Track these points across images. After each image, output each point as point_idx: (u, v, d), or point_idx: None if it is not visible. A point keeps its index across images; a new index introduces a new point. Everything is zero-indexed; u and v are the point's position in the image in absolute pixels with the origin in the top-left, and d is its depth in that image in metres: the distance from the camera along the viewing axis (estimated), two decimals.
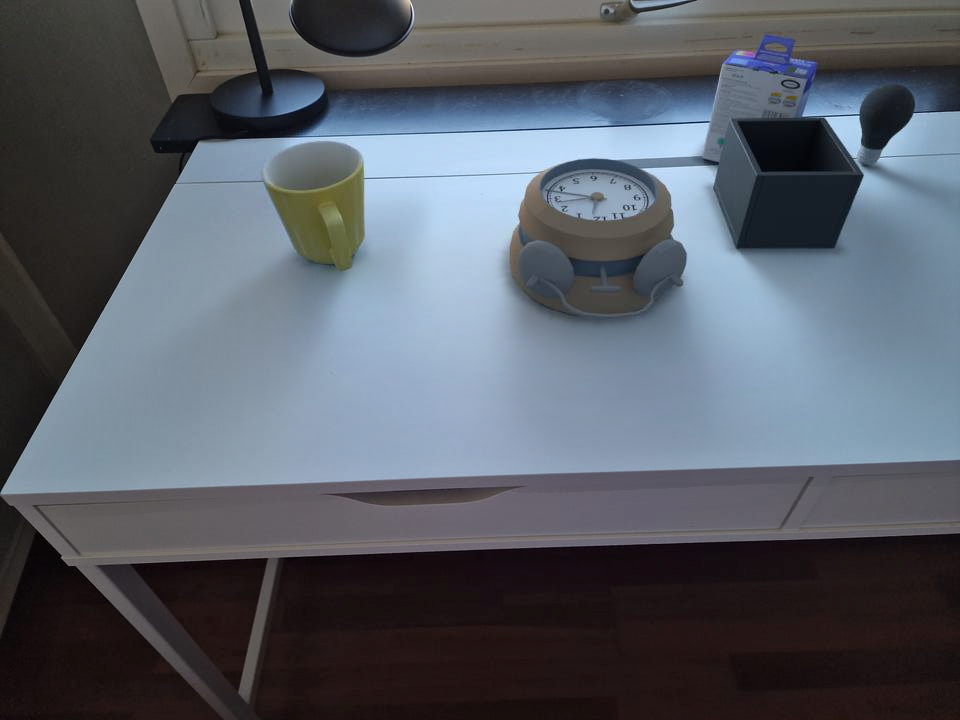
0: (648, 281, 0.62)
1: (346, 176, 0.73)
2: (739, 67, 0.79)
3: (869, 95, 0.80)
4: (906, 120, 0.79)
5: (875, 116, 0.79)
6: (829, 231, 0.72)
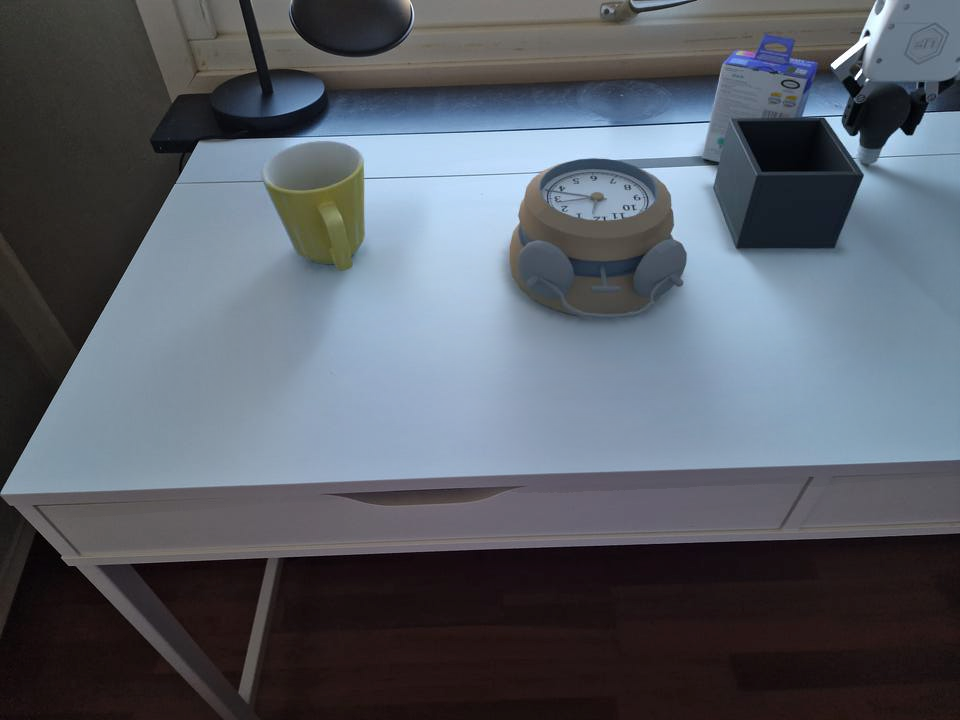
0: (648, 281, 0.62)
1: (346, 176, 0.73)
2: (739, 67, 0.79)
3: None
4: (903, 119, 0.79)
5: (870, 116, 0.80)
6: (829, 231, 0.72)
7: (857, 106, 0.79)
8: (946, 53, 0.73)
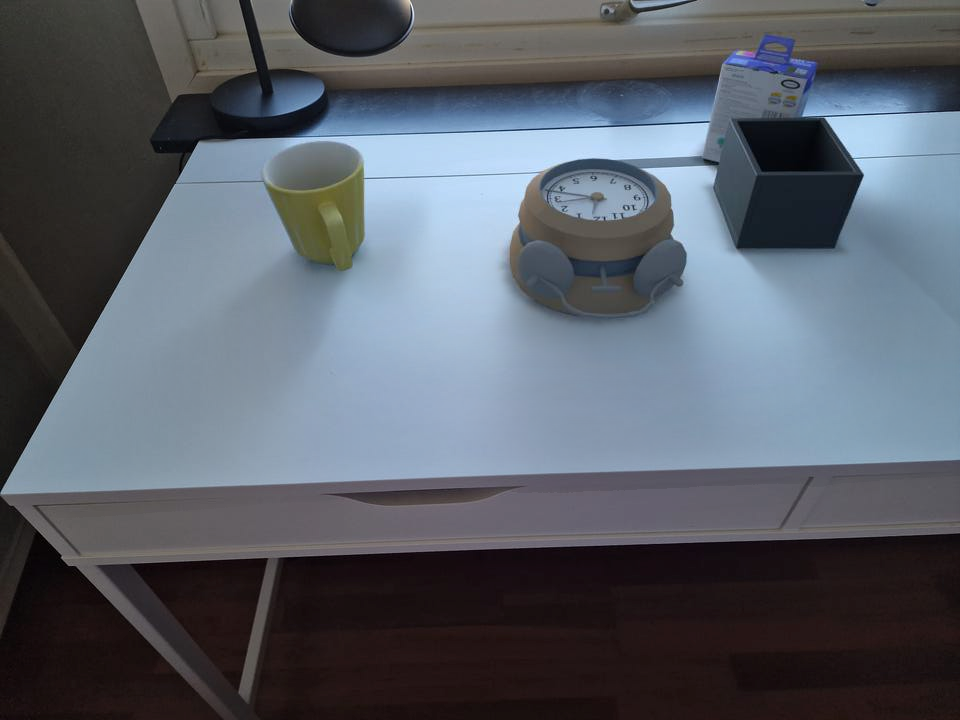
0: (648, 281, 0.62)
1: (346, 176, 0.73)
2: (739, 67, 0.79)
3: None
4: None
5: None
6: (829, 231, 0.72)
7: None
8: None
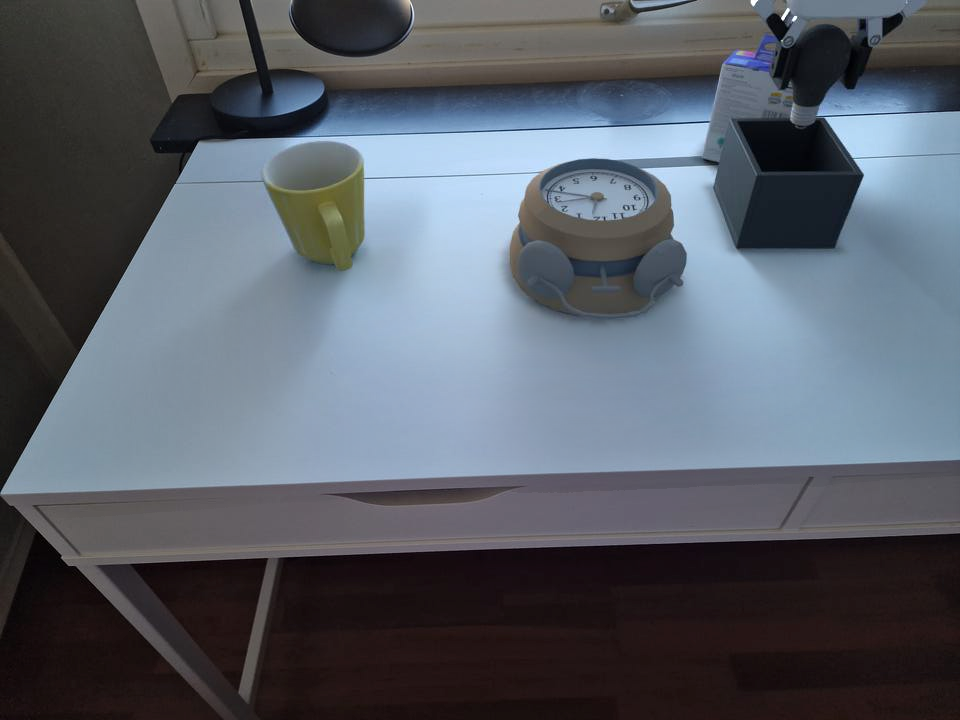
0: (648, 281, 0.62)
1: (346, 176, 0.73)
2: (739, 67, 0.79)
3: None
4: (841, 67, 0.65)
5: (802, 64, 0.65)
6: (829, 231, 0.72)
7: (785, 52, 0.65)
8: None
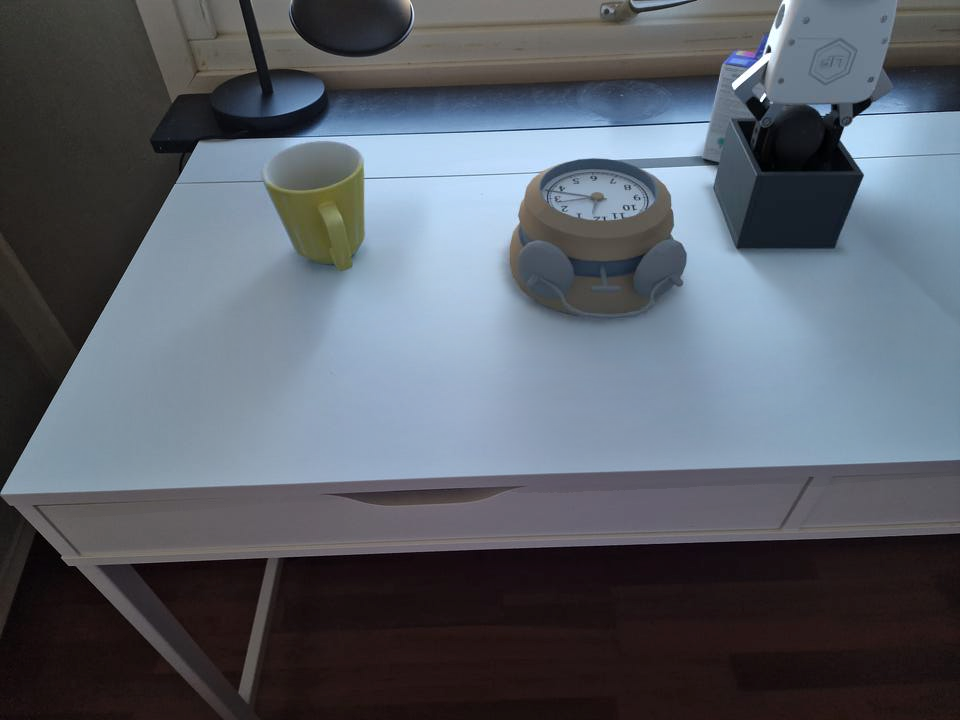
0: (648, 281, 0.62)
1: (346, 176, 0.73)
2: (739, 67, 0.79)
3: None
4: (815, 144, 0.70)
5: (779, 141, 0.71)
6: (829, 231, 0.72)
7: (764, 130, 0.70)
8: (856, 72, 0.64)
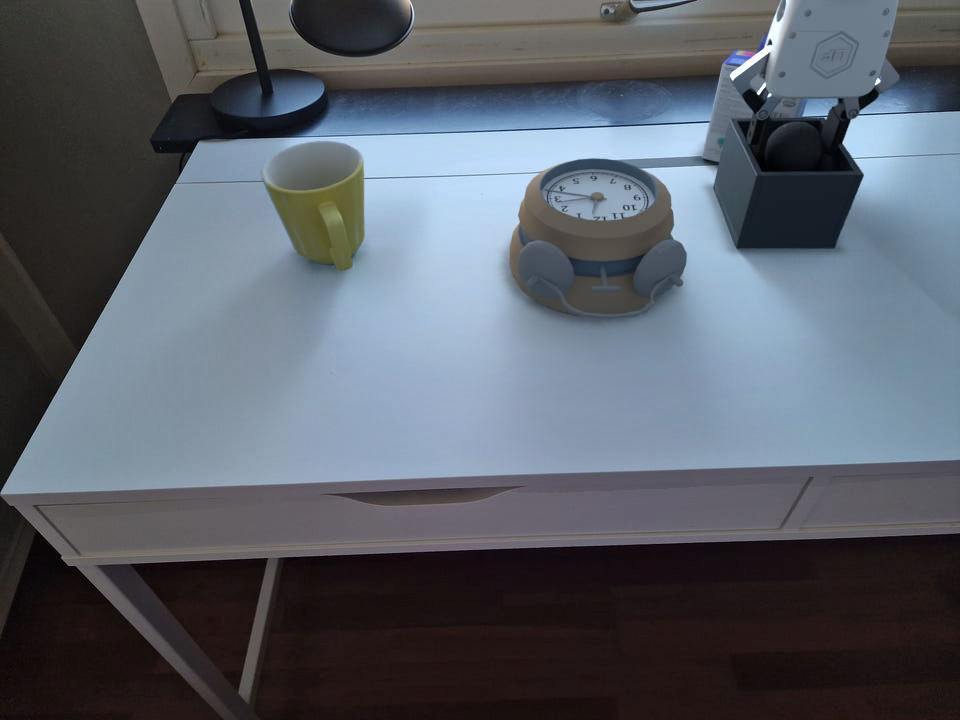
0: (648, 281, 0.62)
1: (346, 176, 0.73)
2: None
3: (773, 134, 0.73)
4: (812, 162, 0.71)
5: (778, 157, 0.72)
6: (829, 231, 0.72)
7: (761, 123, 0.70)
8: (858, 66, 0.64)
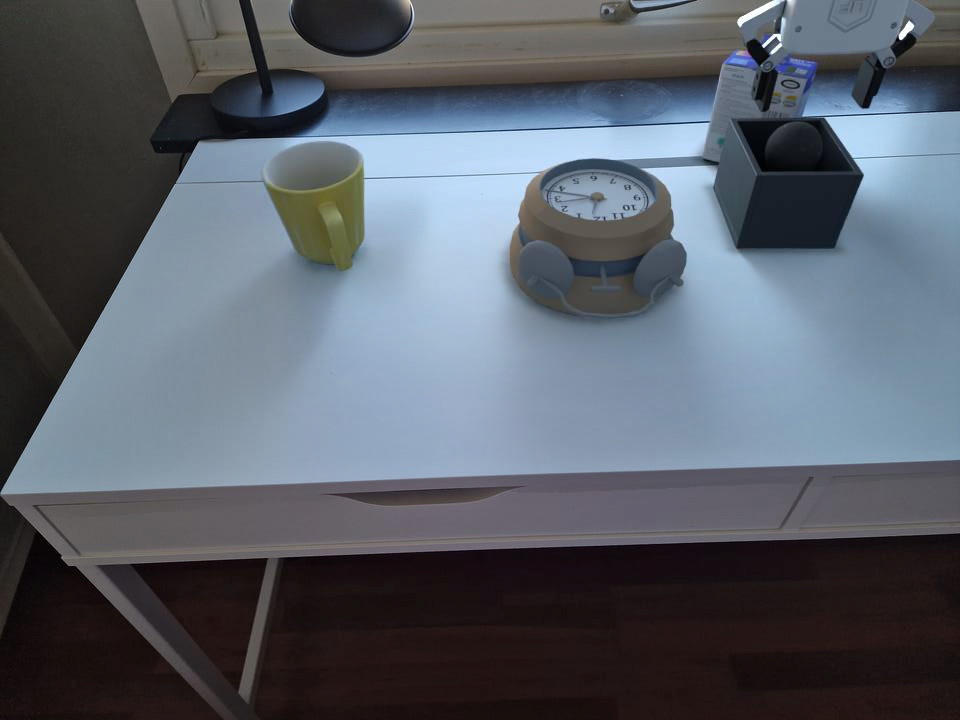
0: (648, 281, 0.62)
1: (346, 176, 0.73)
2: (739, 67, 0.79)
3: (773, 134, 0.73)
4: (813, 162, 0.71)
5: (779, 157, 0.72)
6: (829, 231, 0.72)
7: (766, 76, 0.67)
8: (878, 18, 0.61)
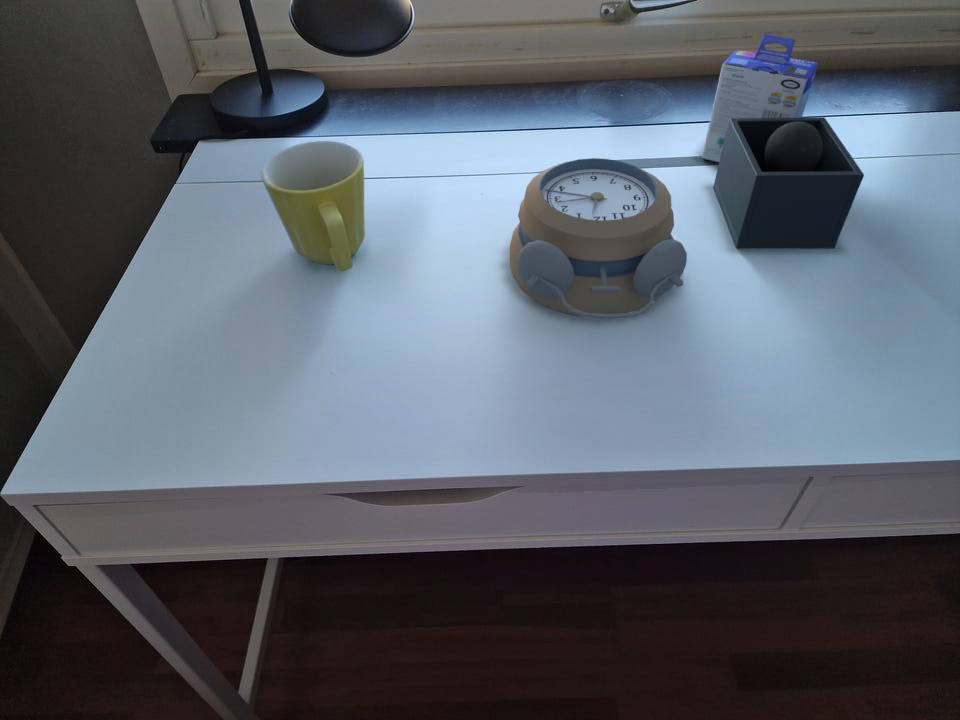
0: (648, 281, 0.62)
1: (346, 176, 0.73)
2: (739, 67, 0.79)
3: (773, 134, 0.73)
4: (813, 162, 0.71)
5: (779, 157, 0.72)
6: (829, 231, 0.72)
7: None
8: None
